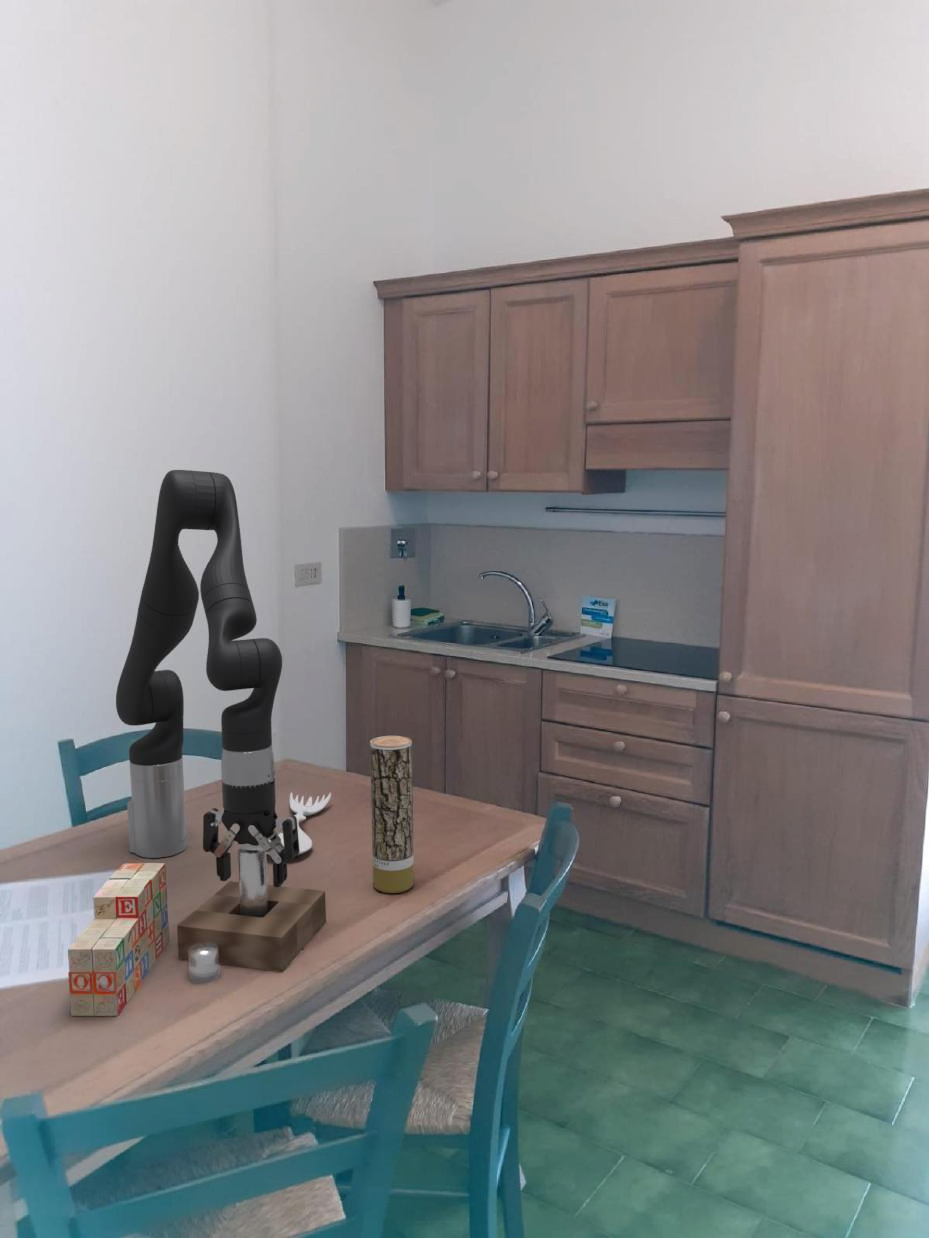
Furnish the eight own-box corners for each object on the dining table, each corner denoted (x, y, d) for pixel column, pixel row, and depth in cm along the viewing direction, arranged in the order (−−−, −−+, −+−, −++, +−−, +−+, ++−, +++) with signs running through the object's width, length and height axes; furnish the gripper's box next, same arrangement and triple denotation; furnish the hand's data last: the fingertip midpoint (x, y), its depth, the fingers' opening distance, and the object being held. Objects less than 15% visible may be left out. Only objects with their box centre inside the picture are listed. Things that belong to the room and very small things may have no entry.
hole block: (178, 958, 143) (177, 925, 142) (231, 911, 158) (230, 881, 157) (282, 971, 139) (281, 937, 138) (326, 921, 154) (325, 890, 153)
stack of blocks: (119, 1017, 127) (113, 926, 126) (70, 1017, 128) (63, 926, 126) (170, 940, 149) (166, 861, 147) (128, 940, 149) (123, 861, 147)
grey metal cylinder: (184, 981, 136) (182, 953, 136) (198, 967, 140) (197, 940, 140) (210, 984, 135) (209, 956, 135) (224, 970, 139) (223, 943, 139)
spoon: (333, 806, 208) (332, 790, 208) (307, 866, 177) (306, 847, 176) (290, 806, 208) (289, 790, 208) (256, 866, 177) (255, 847, 176)
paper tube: (398, 898, 162) (395, 748, 159) (364, 889, 166) (361, 743, 162) (421, 883, 168) (419, 739, 164) (389, 875, 172) (386, 733, 168)
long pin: (236, 943, 147) (233, 853, 145) (248, 931, 151) (245, 843, 149) (261, 946, 146) (258, 855, 144) (273, 934, 150) (270, 845, 148)
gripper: (190, 779, 143) (195, 887, 145) (282, 787, 139) (286, 897, 142) (216, 764, 150) (220, 867, 152) (304, 771, 146) (307, 876, 149)
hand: (252, 881), depth 147 cm, fingers open, 8 cm apart
